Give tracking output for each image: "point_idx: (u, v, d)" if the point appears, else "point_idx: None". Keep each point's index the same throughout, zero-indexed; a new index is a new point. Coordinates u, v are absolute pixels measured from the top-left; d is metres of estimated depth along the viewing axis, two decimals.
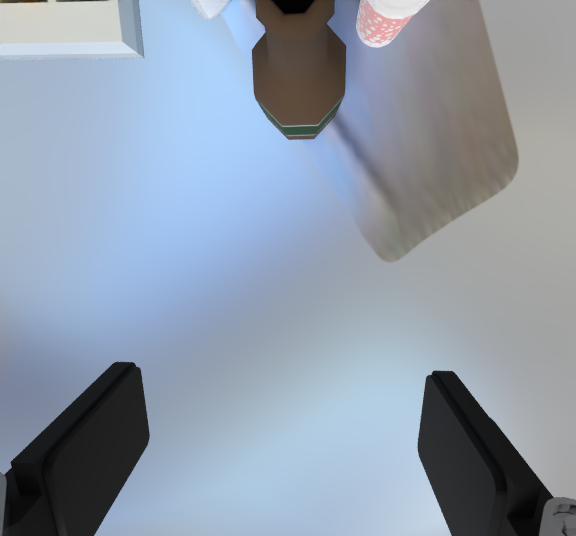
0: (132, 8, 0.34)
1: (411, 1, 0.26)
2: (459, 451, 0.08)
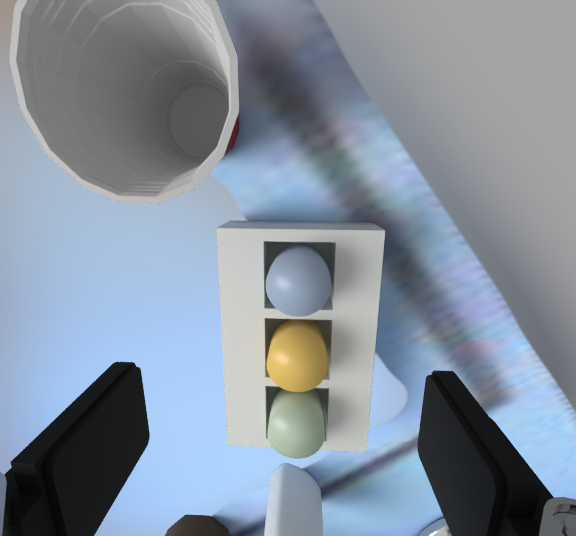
0: None
1: None
2: (459, 451, 0.08)
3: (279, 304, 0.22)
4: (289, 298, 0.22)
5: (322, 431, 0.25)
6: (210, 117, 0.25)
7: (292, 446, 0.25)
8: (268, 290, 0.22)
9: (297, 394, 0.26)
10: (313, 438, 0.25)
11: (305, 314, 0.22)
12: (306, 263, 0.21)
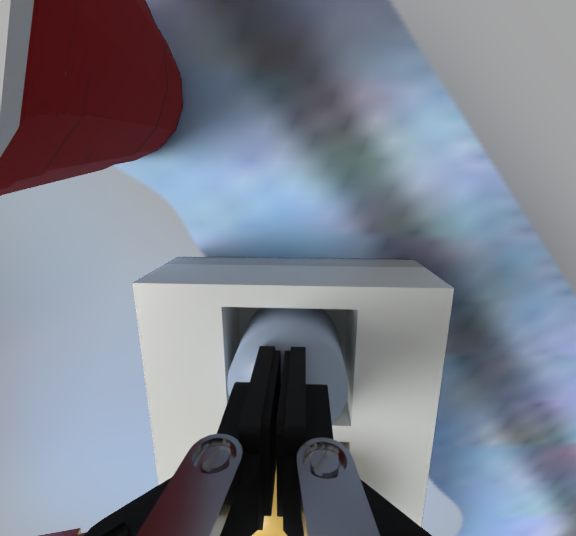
0: None
1: None
2: None
3: None
4: None
5: None
6: None
7: None
8: None
9: None
10: None
11: None
12: None
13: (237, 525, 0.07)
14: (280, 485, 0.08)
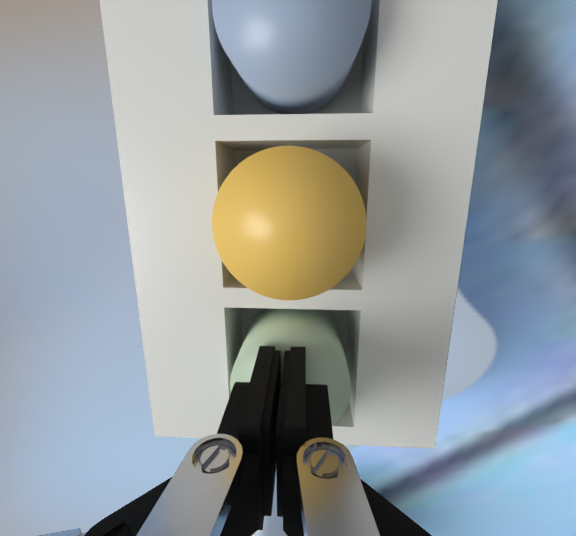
0: None
1: None
2: None
3: (246, 60, 0.09)
4: (269, 40, 0.09)
5: (346, 380, 0.12)
6: None
7: None
8: (219, 19, 0.09)
9: (293, 312, 0.13)
10: None
11: (308, 85, 0.09)
12: None
13: (237, 525, 0.07)
14: (280, 485, 0.08)
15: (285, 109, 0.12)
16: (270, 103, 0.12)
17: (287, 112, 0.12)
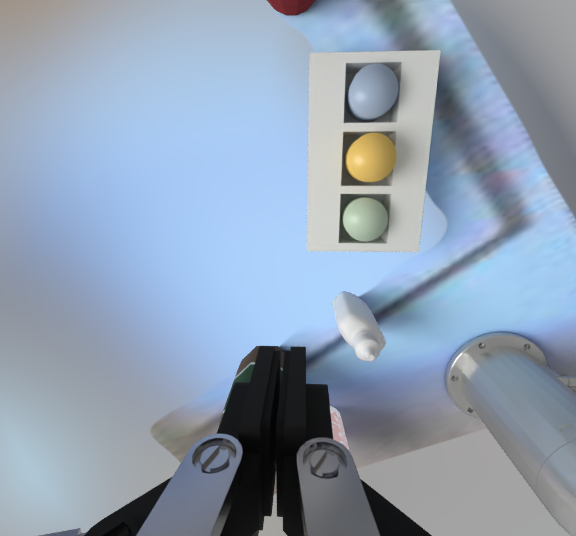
0: None
1: None
2: None
3: (359, 106, 0.30)
4: (367, 100, 0.30)
5: (386, 216, 0.33)
6: None
7: (363, 230, 0.34)
8: (352, 94, 0.30)
9: (364, 197, 0.35)
10: (379, 222, 0.33)
11: (378, 114, 0.31)
12: (381, 71, 0.30)
13: (237, 525, 0.07)
14: (280, 485, 0.08)
15: (364, 120, 0.33)
16: (360, 118, 0.33)
17: (364, 121, 0.33)
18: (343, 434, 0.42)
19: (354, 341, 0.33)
